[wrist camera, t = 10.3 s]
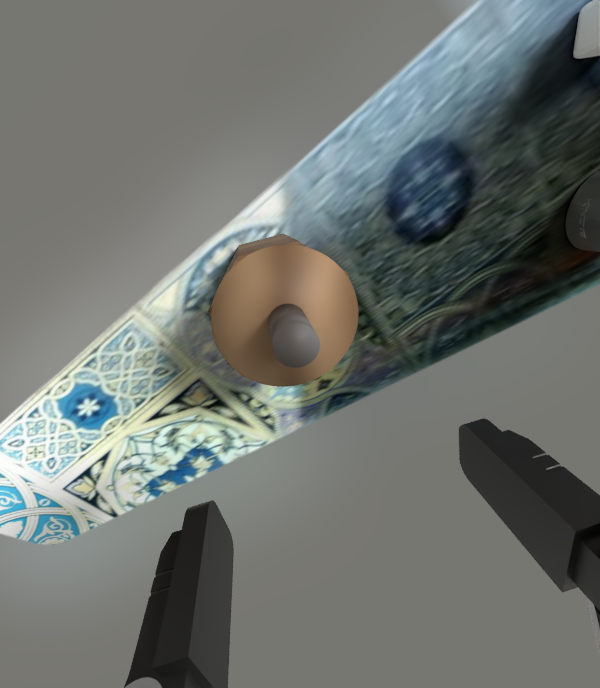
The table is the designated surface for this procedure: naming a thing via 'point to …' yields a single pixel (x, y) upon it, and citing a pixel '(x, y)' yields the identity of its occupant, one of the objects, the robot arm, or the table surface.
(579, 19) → the pepper shaker
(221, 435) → the table surface
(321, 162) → the table surface
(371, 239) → the table surface
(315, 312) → the tan jar with knob
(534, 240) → the table surface
